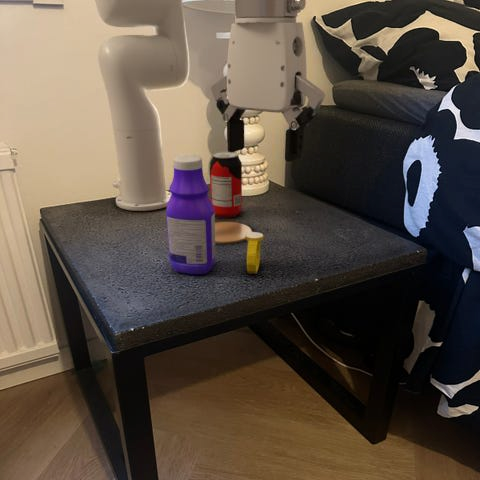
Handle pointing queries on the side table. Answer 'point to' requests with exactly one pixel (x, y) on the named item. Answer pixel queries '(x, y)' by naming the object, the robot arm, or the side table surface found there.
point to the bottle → (190, 218)
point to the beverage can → (226, 183)
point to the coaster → (230, 232)
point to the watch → (253, 251)
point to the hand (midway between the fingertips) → (263, 154)
